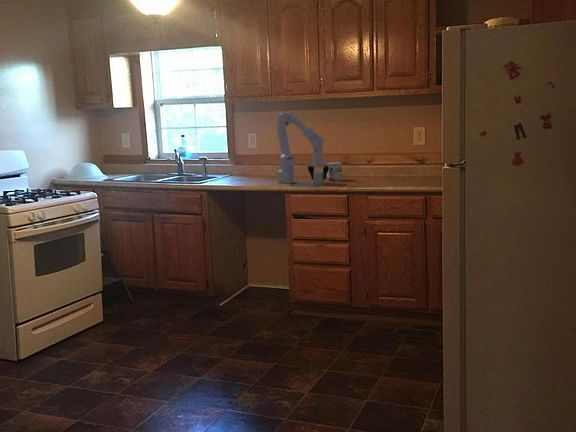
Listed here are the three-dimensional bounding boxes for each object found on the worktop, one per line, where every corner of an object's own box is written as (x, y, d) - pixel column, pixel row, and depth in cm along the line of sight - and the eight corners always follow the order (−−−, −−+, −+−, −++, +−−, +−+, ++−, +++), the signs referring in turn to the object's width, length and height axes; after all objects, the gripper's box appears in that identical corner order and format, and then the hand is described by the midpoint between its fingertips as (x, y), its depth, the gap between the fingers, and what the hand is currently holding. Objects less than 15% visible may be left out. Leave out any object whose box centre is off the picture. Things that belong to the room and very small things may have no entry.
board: (288, 187, 389) (288, 186, 389) (300, 183, 408) (300, 182, 407) (317, 188, 383) (317, 186, 383) (327, 183, 401) (327, 182, 401)
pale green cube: (313, 183, 396) (313, 172, 395) (316, 182, 401) (315, 171, 400) (321, 183, 394) (321, 172, 393) (324, 182, 399) (323, 171, 398)
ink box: (329, 182, 405) (328, 163, 403) (326, 181, 409) (326, 162, 407) (342, 181, 406) (341, 162, 404) (340, 180, 411) (339, 161, 409)
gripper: (304, 157, 394) (305, 180, 396) (327, 157, 389) (328, 180, 391) (308, 156, 400) (309, 178, 403) (331, 156, 395) (331, 178, 398)
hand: (318, 179), depth 397 cm, fingers open, 7 cm apart
